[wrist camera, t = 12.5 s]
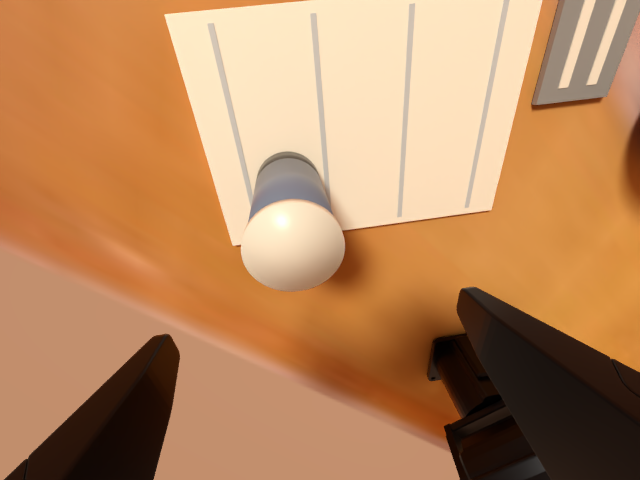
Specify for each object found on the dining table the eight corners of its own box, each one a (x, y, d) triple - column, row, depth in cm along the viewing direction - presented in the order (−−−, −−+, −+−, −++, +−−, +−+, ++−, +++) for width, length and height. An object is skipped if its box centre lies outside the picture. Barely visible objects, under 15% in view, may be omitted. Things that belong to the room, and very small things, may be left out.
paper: (488, 208, 22) (491, 210, 21) (233, 243, 21) (232, 246, 20) (543, -21, 15) (548, -23, 15) (166, 15, 14) (164, 14, 14)
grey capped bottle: (323, 208, 20) (347, 283, 13) (262, 216, 20) (253, 297, 13) (317, 145, 18) (342, 197, 11) (248, 154, 17) (229, 212, 11)
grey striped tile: (600, 96, 18) (607, 96, 18) (531, 104, 18) (537, 105, 18) (648, -31, 15) (658, -34, 15) (565, -23, 15) (573, -26, 15)
